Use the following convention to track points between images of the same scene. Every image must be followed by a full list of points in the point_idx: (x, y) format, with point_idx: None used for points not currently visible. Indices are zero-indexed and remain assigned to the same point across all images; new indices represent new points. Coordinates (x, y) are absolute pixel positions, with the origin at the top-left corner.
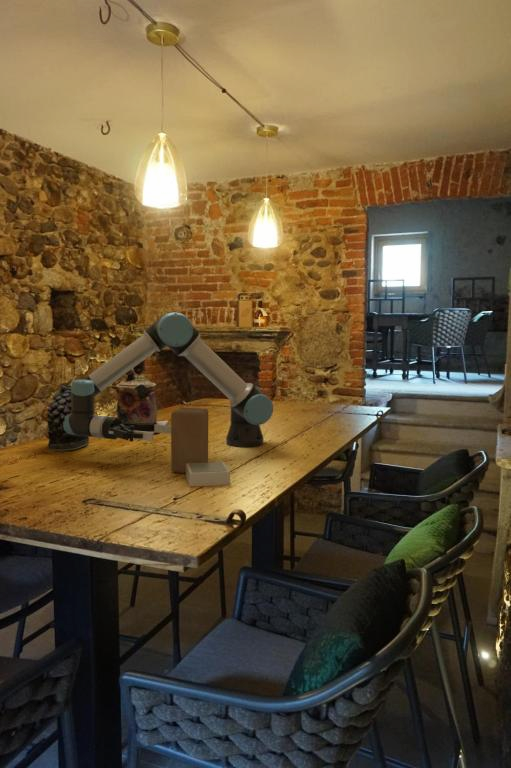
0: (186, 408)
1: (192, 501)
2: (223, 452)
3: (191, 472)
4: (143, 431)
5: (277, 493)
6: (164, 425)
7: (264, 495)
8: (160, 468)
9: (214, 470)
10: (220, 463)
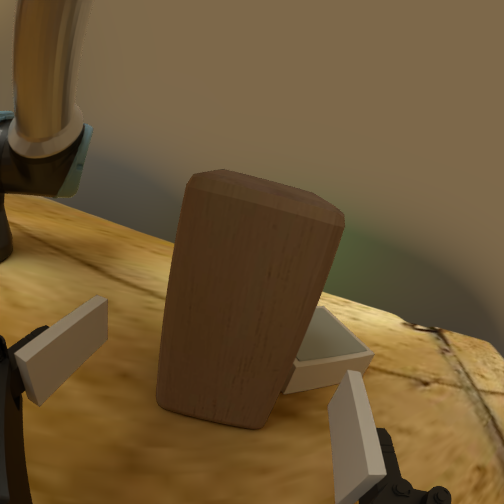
0: (233, 176)
1: (417, 363)
2: (24, 294)
3: (366, 352)
4: (362, 418)
5: (325, 293)
6: (75, 320)
7: (341, 303)
8: (202, 472)
9: (333, 321)
10: None
